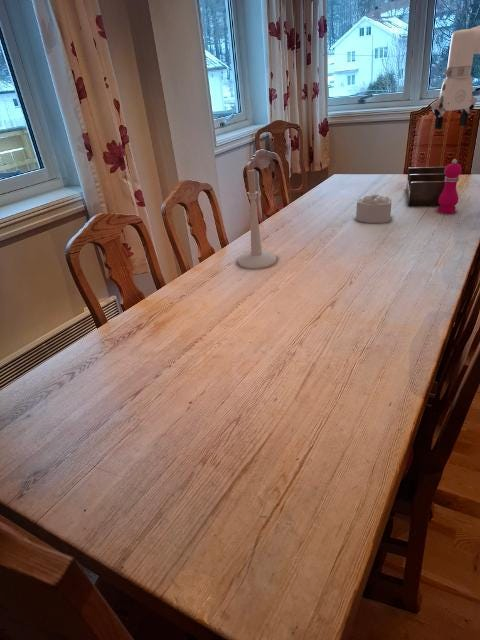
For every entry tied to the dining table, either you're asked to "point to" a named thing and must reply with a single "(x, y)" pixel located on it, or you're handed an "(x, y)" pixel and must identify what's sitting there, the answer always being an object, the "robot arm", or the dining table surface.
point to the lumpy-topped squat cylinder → (374, 209)
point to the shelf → (425, 185)
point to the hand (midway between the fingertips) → (450, 127)
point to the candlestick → (255, 235)
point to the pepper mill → (450, 188)
